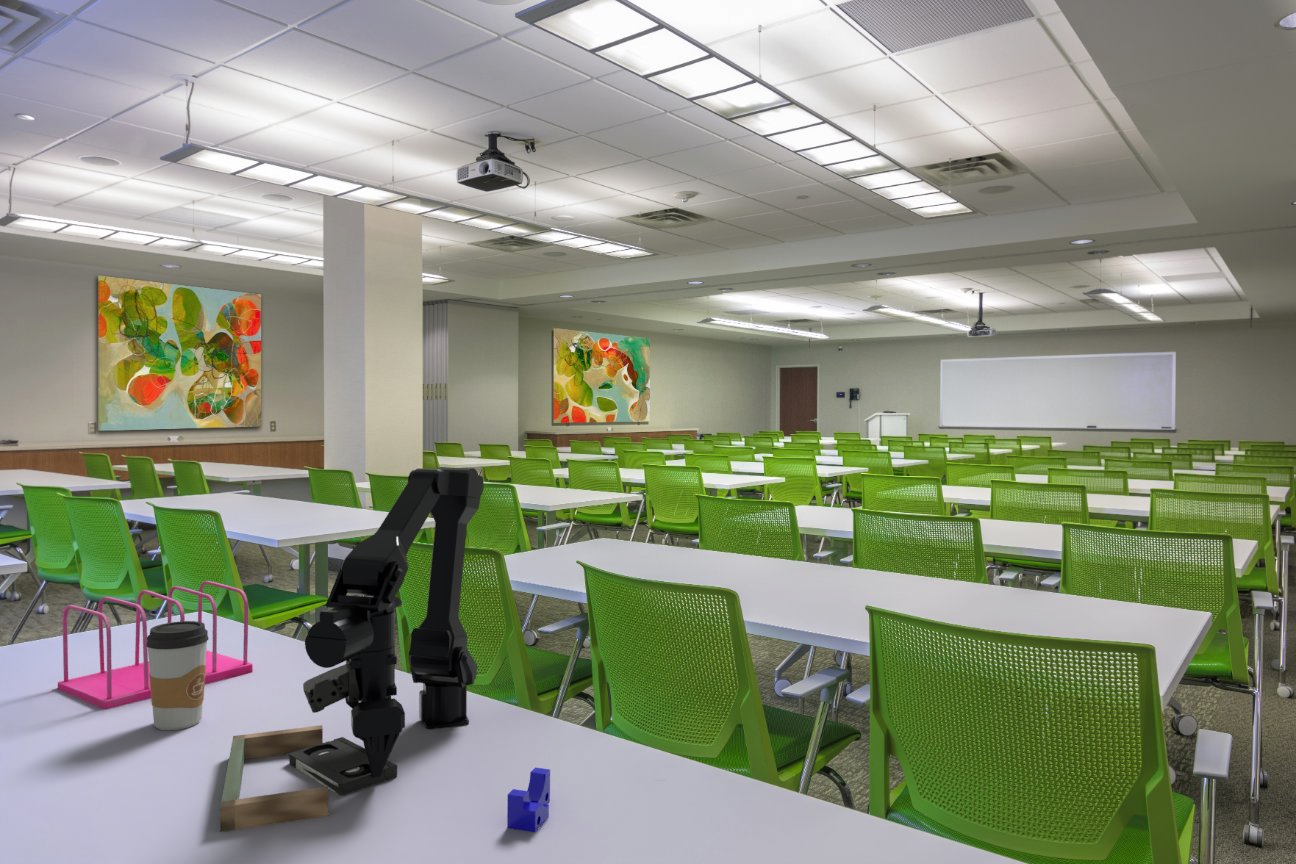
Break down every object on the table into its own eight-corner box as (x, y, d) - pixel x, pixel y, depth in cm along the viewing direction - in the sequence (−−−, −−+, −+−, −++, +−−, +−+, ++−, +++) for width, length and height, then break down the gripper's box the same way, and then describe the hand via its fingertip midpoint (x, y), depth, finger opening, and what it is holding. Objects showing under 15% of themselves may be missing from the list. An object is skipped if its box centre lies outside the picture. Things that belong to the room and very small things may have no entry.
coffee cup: (182, 737, 126) (181, 635, 126) (133, 732, 128) (132, 632, 128) (221, 717, 135) (220, 621, 134) (174, 713, 136) (174, 618, 136)
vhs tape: (288, 767, 117) (288, 752, 117) (342, 750, 123) (342, 736, 123) (340, 799, 108) (340, 783, 108) (397, 780, 113) (397, 764, 113)
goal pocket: (322, 745, 124) (322, 725, 124) (328, 816, 102) (328, 791, 102) (233, 757, 119) (233, 735, 119) (220, 833, 98) (220, 807, 98)
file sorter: (253, 673, 157) (253, 588, 157) (105, 712, 137) (104, 614, 136) (202, 657, 167) (202, 577, 167) (56, 691, 147) (55, 599, 146)
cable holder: (535, 833, 99) (535, 798, 99) (507, 828, 100) (507, 794, 100) (561, 803, 107) (561, 770, 107) (534, 799, 108) (535, 767, 108)
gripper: (305, 635, 120) (305, 747, 120) (309, 672, 103) (309, 802, 103) (388, 628, 125) (388, 736, 125) (405, 662, 107) (405, 787, 108)
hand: (372, 763), depth 115 cm, fingers open, 9 cm apart
